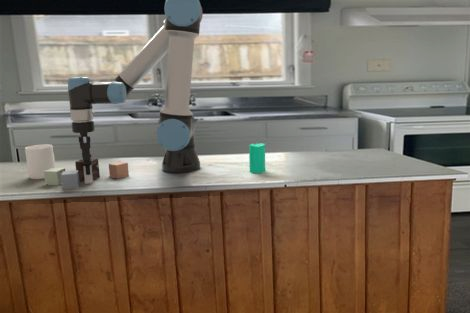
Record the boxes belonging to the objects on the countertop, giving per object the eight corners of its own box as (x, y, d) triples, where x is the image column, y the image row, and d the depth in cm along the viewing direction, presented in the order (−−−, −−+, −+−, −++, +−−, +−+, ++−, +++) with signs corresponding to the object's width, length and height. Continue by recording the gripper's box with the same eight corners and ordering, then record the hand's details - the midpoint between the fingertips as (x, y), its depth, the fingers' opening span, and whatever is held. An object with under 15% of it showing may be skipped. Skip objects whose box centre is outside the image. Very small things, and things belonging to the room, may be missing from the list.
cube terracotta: (128, 175, 155) (127, 162, 154) (117, 178, 151) (116, 165, 150) (120, 173, 158) (119, 161, 157) (109, 176, 155) (108, 163, 154)
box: (91, 181, 147) (89, 162, 146) (76, 181, 149) (74, 161, 147) (100, 177, 153) (98, 158, 152) (85, 177, 154) (83, 158, 153)
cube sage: (66, 181, 149) (65, 168, 148) (58, 185, 144) (56, 171, 143) (54, 181, 150) (52, 167, 149) (45, 184, 145) (44, 171, 144)
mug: (24, 180, 152) (19, 149, 150) (39, 172, 164) (35, 143, 161) (49, 179, 152) (45, 148, 150) (62, 171, 164) (59, 142, 161)
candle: (267, 170, 158) (267, 139, 156) (261, 173, 153) (261, 142, 150) (253, 169, 161) (252, 138, 158) (247, 172, 155) (246, 141, 153)
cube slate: (79, 183, 145) (78, 170, 144) (78, 187, 141) (76, 173, 140) (64, 185, 144) (63, 171, 143) (62, 189, 139) (61, 174, 138)
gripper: (95, 124, 137) (101, 185, 141) (92, 116, 159) (97, 170, 163) (71, 125, 134) (77, 188, 138) (71, 118, 156) (77, 172, 161)
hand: (88, 178), depth 151 cm, fingers open, 12 cm apart
